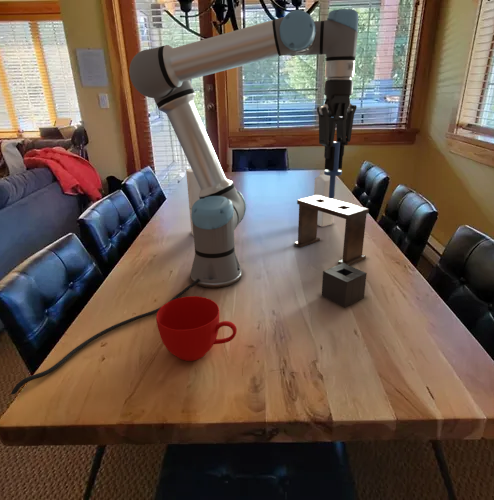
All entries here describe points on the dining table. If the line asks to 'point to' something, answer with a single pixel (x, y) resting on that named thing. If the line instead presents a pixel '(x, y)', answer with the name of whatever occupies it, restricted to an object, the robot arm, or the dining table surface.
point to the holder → (343, 284)
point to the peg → (334, 172)
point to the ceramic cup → (191, 326)
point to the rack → (340, 209)
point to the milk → (323, 190)
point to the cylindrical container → (192, 191)
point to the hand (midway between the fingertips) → (333, 168)
